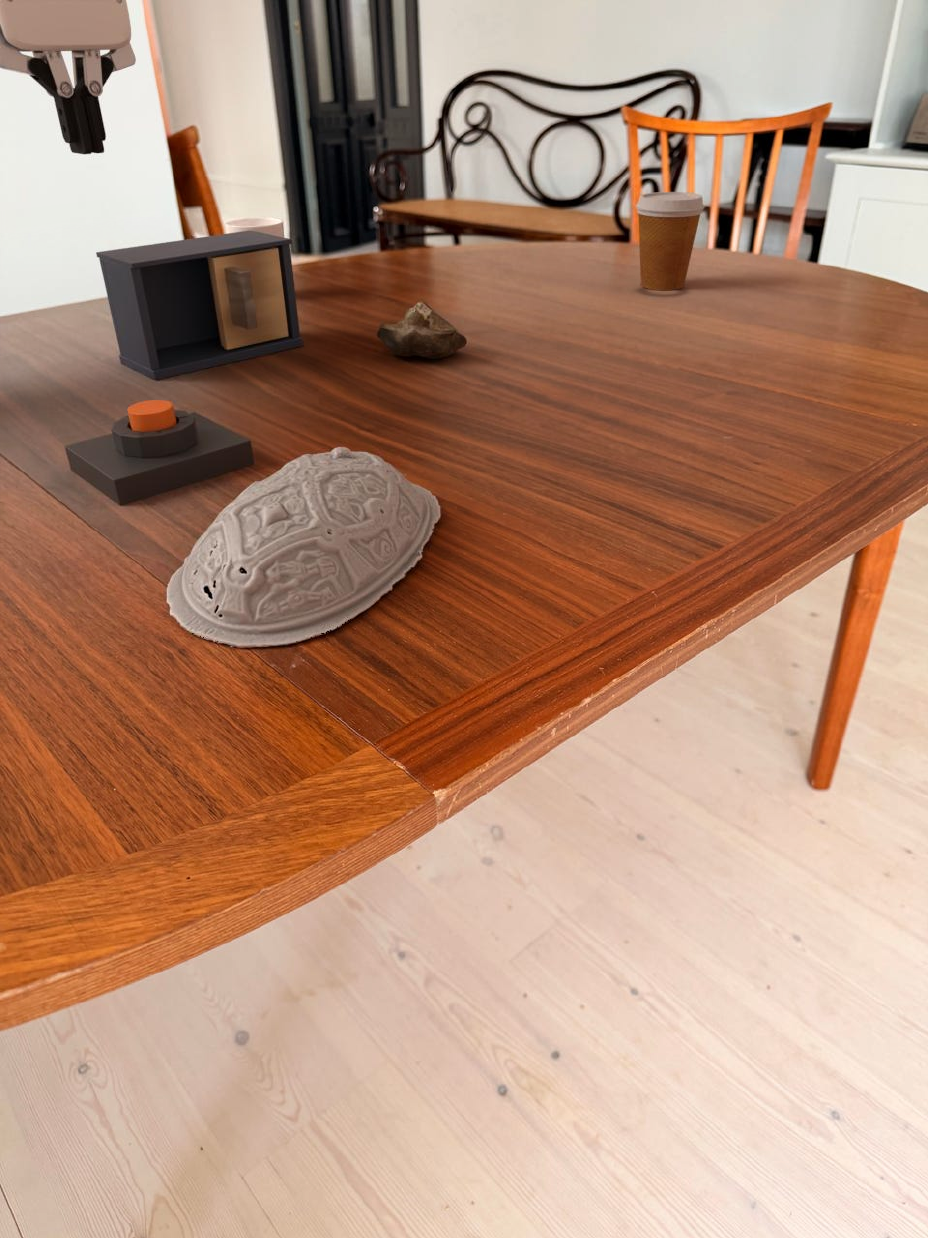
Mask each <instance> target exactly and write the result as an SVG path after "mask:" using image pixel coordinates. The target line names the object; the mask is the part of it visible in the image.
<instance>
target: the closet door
mask: <svg viewBox="0 0 928 1238" xmlns="http://www.w3.org/2000/svg"><path fill="white" fill-rule="evenodd" d="M210 262H211V268H212V274H213V281H214V287H215V293H216V299H217V306H218V312H219V318H220V325H221V331H222V337H223V344H224V349H227V350H230V349H234V348H239V347H243V346H248V345H252V344H257V343H261V342H265V341H270V340H274V339H279V338H283V337H288V336H289V335H288V326H287V318H286V310H285V301H284V293H283V285H282V276H281V268H280V260H279V251H278V248H276V247H272V248H266V249H259V250H253V251H246V252H240V253H234V254H227V255H221V256H215V257H210Z"/></svg>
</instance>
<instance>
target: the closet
mask: <svg viewBox="0 0 928 1238" xmlns="http://www.w3.org/2000/svg"><path fill="white" fill-rule="evenodd" d="M292 244H293V242H292V238H288V237H284V238H283V237H279V236H274V235H270V234H265V233H261V232H256V231H251V230H249V231H242V232H235V233H228V234H227V233H222V234H215V235H208V236H200V237H193V238H185V239H181V240H173V241H166V242H159V243H152V244H145V245H138V246H129V247H123V248H117V249H110V250H103V251H97V252H96V253H95V254H96V258H98V260H99V265H100V269H101V273H102V278H103V281H104V288H105V292H106V295H107V300H108V305H109V309H110V314H111V318H112V319H111V320H112V323H113V328H114V332H115V336H116V340H117V345H118V351H119V354H118V357H119V363H120V364H122V365H123V366H125V367H127V368H129V369H131V370H134V371H136V372H138V373H139V374H142V375H144V376H146V377H148V378H149V379H152V380H154V381H158V380H162V379H167V378H171V377H175V376H179V375H183V374H184V375H185V374H188V373H193V372H197V371H202V370H205V369H210V368H214V367H218V366H224V365H226V364H231V363H235V362H241V361H244V360H249V359H253V358H257V357H262V356H265V355H271V354H275V353H279V352H283V351H287V350H293V349H295V348H300V347H303V346H304V341H303V337H301V332H300V323H299V315H298V306H297V298H296V297H297V296H296V288H295V281H294V271H293V270H294V269H293V262H292V252H291V245H292ZM272 247H276V248H278V251H279V260H280V268H281V276H282V285H283V293H284V301H285V310H286V318H287V326H288V335H289V336H288V337H283V338H279V339H274V340H270V341H265V342H261V343H257V344H252V345H248V346H243V347H239V348H234V349H230V350H227V349H224V344H223V337H222V331H221V325H220V318H219V312H218V306H217V299H216V293H215V287H214V281H213V274H212V268H211V262H210V257H215V256H221V255H227V254H234V253H240V252H246V251H253V250H259V249H266V248H272Z"/></svg>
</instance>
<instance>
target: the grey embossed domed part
mask: <svg viewBox="0 0 928 1238" xmlns="http://www.w3.org/2000/svg"><path fill="white" fill-rule="evenodd" d="M441 515H442V514H441V506H440V505H439V500H438V499H437V497H436V495H434V494H433V493H432V492H431V491H430V490H429V489H426V488H424V487H422V486H421V485H418V484H414V483H413V482H410V481H409V480H408V479H407V478H406V477H405V476H404V474H403V473H401V472H400V471H399V470H397V468H395V467H394V466H393V465H392V464H390V463H389V462H387V461H384V459H383V458H382V457H380V456H379V455H377V454H373V453H369V452H368V451H351V450H350V449H349V448H348V447H345V446H338V447H334V448H333V449H332V450H331V451H327V452H321V453H320V452H319V453H316V454H315V453H313V454H311V453H305V454H302V455H301V456H299V457H297V458H295V459H292V460H291V461H289V462H287V463H285V464H284V465H283V466H282V468H280V469H279V470H277V471H276V472H274V473H272V474H271V475H269V476H268V477H266V478H263V479H262V480H260V481H257V480H255V481H254V482H253V483H251V484H250V485H249V486H247V487H246V488H245V489H244V490H243V491H242V492H241V493H240V494H238V496H237V497H236V498H235V499H234V500H232V501H231V502H229V504H228V505H226V507H224V508H223V509H222V510H221V511H220V512H219V514H218V515H217V516H216V518H215V519H214V521H212V523H211V524H210V525H209V526H208V527H207V529H206V530H205V531H204V532H203V533H202V535H201V536H200V537H199V538H198V540H197V541H196V542H195V544H194V545H193V547H192V549H191V551H190V554H189V555H188V556H187V557H185V558H184V562H183V564H182V565H181V566H180V567H178V569H176V571H175V572H174V573H173V574H172V576H171V577H170V580H169V582H168V584H167V588H166V604H168V606H169V615H170V617H173V618H174V619H175V620H176V622H177V623H179V626H180V627H182V628H183V629H185V630H186V631H187V632H188V631H189V632H188V633H190V634H192V633H194V634H193V635H195V636H196V637H199V638H202V639H204V640H207V641H213V643H215V642H216V643H218V644H225V645H228V646H230V648H234V647H236V648H238V649H241V648H242V649H244V648H268V647H277V646H288V645H293V644H297V643H300V642H302V641H306V640H309V639H312V638H315V637H319V636H322V635H325V634H327V633H328V632H327V631H329V632H331V631H334V630H336V629H338V628H340V627H342V626H343V625H344V624H346V623H347V622H349V621H350V619H351V620H352V619H354V618H355V617H357V616H358V615H359V614H361V613H363V612H365V611H366V610H369V608H371V607H372V606H373V605H375V603H376V602H378V601H379V600H380V599H381V597H382V596H384V595H385V594H387V593H389V591H392V590H393V585H395V584H396V583H398V582H399V581H400V580H402V579H404V578H405V577H406V574H407V572H409V571H410V570H411V568H415V566H416V565H417V563H418V561H420V560H421V559H422V558H423V554H422V553H423V552H424V551H423V549H424V547H425V546H426V544H428V541H430V538H431V536H432V534H433V533H434V529H435V524H437V523H438V522H439V520H440V519H441ZM241 568H242V569H244V571H246V573H241V572H243V570H242V569H241ZM214 585H215V587H214ZM205 587H208V590H209V592H210V593H211V597H212V598H210V597H209V594H208V593H206V592H205V589H204V588H205ZM216 609H217V611H216ZM215 611H216V612H215ZM220 615H222V616H220ZM348 620H349V621H348ZM345 622H346V623H345ZM342 624H343V625H342ZM337 627H338V628H337ZM330 630H331V631H330ZM326 632H327V633H326ZM321 633H324V634H321ZM315 635H316V636H315ZM200 636H201V637H200ZM203 637H204V638H203ZM311 637H312V638H311ZM217 641H218V642H217ZM296 641H297V642H296Z"/></svg>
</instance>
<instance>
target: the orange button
mask: <svg viewBox="0 0 928 1238" xmlns="http://www.w3.org/2000/svg"><path fill="white" fill-rule="evenodd" d="M174 410H175V409H174V404H173V403H172V402H171V401H168V400H164V399H153V400H152V399H149V400H143V401H139V402H136V403H134V404H133V403H132V404H131V405H130V406H129V407H128V408H127V416H128V415H129V419H130V424H131V428H132V430H133V431H140V432H148V431H159V430H163V429H166V428H170V427H173V426H174V425H176V424H177V423H176V418H175V413H174Z"/></svg>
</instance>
